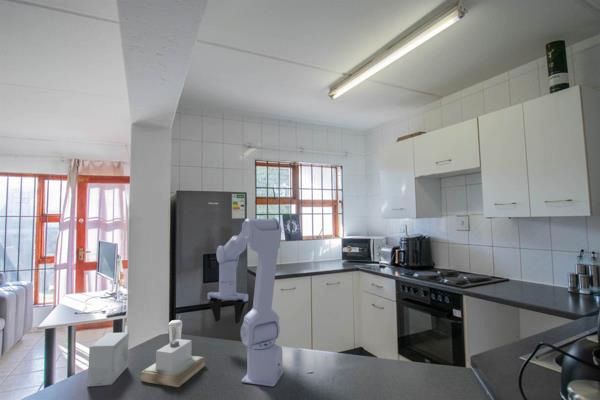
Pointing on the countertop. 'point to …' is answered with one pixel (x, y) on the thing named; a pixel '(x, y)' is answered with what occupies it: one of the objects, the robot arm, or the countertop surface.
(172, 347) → the block
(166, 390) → the countertop surface
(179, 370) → the stand
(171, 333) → the milkshake
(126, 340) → the skincare box
